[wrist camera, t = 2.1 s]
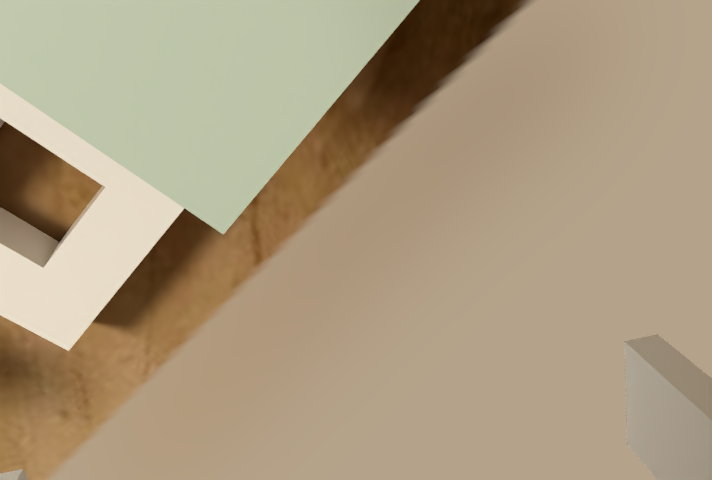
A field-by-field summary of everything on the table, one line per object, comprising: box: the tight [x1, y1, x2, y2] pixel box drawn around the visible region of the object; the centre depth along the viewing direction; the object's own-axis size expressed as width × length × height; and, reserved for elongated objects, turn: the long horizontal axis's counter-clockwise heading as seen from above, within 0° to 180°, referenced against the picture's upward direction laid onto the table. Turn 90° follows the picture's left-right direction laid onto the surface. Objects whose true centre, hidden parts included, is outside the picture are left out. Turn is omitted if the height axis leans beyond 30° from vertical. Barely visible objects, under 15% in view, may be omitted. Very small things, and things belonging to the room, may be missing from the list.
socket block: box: [0, 84, 184, 351], centre depth 30 cm, size 12×12×3 cm
